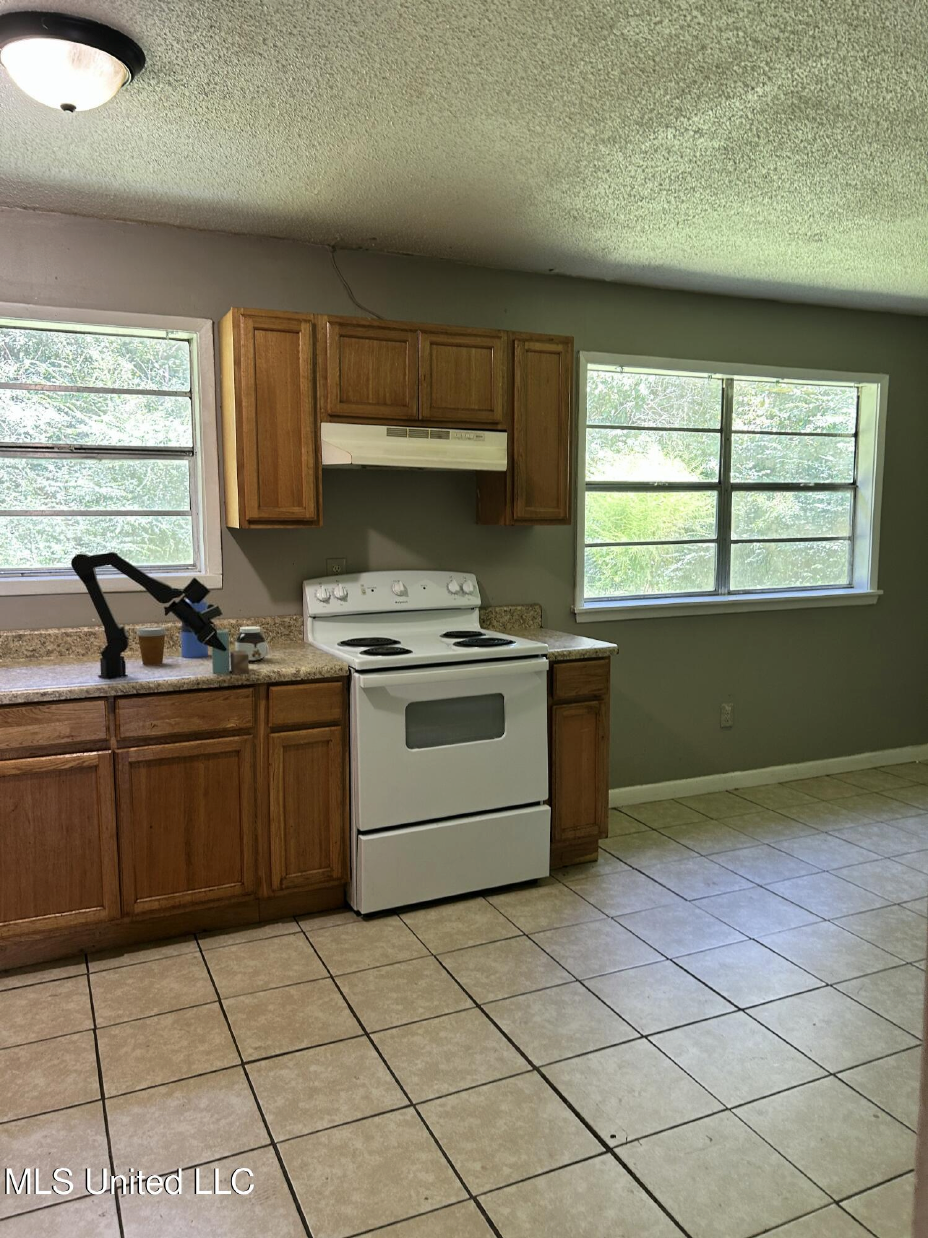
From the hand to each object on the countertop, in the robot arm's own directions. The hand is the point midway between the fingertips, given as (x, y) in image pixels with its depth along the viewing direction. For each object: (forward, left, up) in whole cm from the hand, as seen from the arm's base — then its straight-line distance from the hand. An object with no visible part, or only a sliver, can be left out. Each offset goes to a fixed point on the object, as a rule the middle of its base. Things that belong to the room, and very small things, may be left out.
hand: (225, 648), depth 294 cm
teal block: (-1, +1, -8) cm, 8 cm away
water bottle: (+13, +34, -8) cm, 38 cm away
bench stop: (+4, -2, -8) cm, 9 cm away
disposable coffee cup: (-6, +31, -8) cm, 33 cm away
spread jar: (+20, +11, -8) cm, 25 cm away
